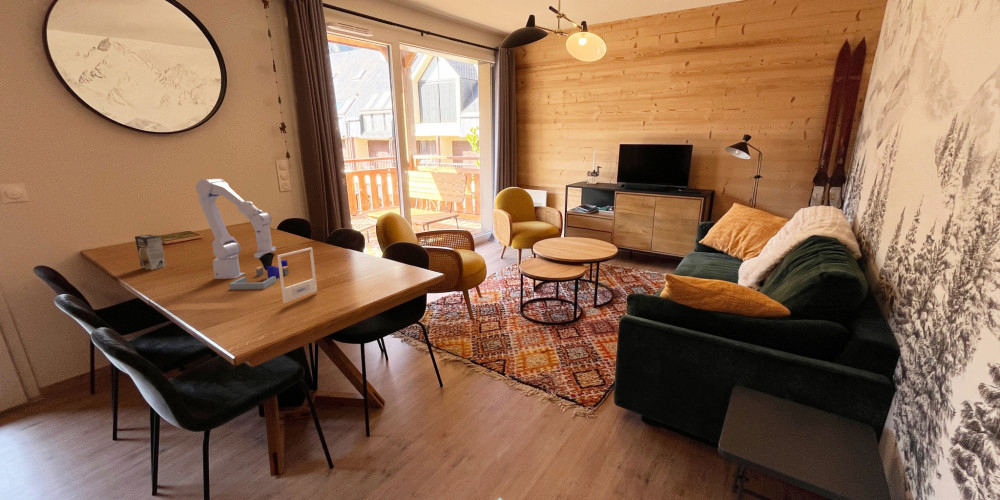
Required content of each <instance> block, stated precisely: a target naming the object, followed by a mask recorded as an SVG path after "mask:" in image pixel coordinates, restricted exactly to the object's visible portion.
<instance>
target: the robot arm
mask: <svg viewBox="0 0 1000 500" xmlns="http://www.w3.org/2000/svg"><path fill="white" fill-rule="evenodd" d="M194 187H195V189H196V192H197V195H198V201H199V204H200V206H201V209H202V211H203V214H204V216H205V218H206V221H207V223H208V226H209V227H210V230H211V232H212V235H213V237H214V240H213V241H212V243H211V247H212V252H213V255H214V256H215V257H216V258H214V260H213V262H212V268H213V269H212V270H213V274H214V277H213V279H215V280H218V279H219V280H222V279H225V280H226V279H237V278H239V277H241V276H244V275H245V274H246V272H241V268H240V263H239V256H240V254H239V253H240V252H241V250H242V248H241V245H240V243H238V241H237V239H236V238H235V237H234V236H232V235H230V234H229V231H228V229H227V227H226V223H225V222H224V219H223V217H222V214H221V212H220V210H219V207H218V205H217V203H216V200H217V199H218V198H219V197H220V196H223V197H224V198H225V199H227V200H229V201H230V202H231V203H233V204H234V205H235V206H237V209H238V211H239V212H240V213H241V214H242V215H243V216H245V217H246V218H247V219H249V220H250V221H249V222H250V224H251V225H252V226H253V230H254V232H255V241H256V246H257V251H255V253H254V254H253V255H254V258H255V259H258V260H259V261H260V263H261V264H262V267H263V270H264V271H267V266H273V260H274V257H275V252H276V251H277V248H276V247H277V246H274V245H273V243H272V241H273V240H272V233H271V226H270V224H271V223H272V216H271V214H270V213H269V212H267V211H263V210H262V209H259V208H258V207H257V206H255V205H254V203H253V202H252V201H249V200H244V199H243V198H242V197H241V196H240V195H239V194H238V193H236V192H235V191H234V190H233V189H232V188H231V187H230V186H229V183H228V182H226V181H225V180H224V179H222V178H220V177H218V178H208V179H206V178H202V179H200V180H198V181H197V183H196V185H195V186H194Z"/></svg>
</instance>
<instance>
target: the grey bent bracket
mask: <svg viewBox="0 0 1000 500" xmlns="http://www.w3.org/2000/svg"><path fill="white" fill-rule="evenodd" d="M275 283H277V279H276V276H272V277H271V278H269V279H268V278H267V279H265V280H264V281H262V282H259V281H258V282H257V281H255V282H248V279H247V276H242V277H240V278H238V279H235V280H234V281H232V282H230V283H229V284H228V285H229V290H233V291H234V290H265V289H267V288H268V287H270V286H272V285H273V284H275Z"/></svg>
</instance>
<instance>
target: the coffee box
mask: <svg viewBox="0 0 1000 500" xmlns="http://www.w3.org/2000/svg"><path fill="white" fill-rule="evenodd" d="M134 239H135V244H136V245H135V246H136V248H137V253H138V258H139V263H140V269H142V268H146V269H145V270H148V269H151V270H150V271H154V270H153V269H156V270H158V269H157V268H160V269H162V268H161V267H164V268H166V267H167V264H166V260H165V259H166V258H165V254H164V247H163V242H162V237H161V235H156V234H145V235H144V234H143V235H135V236H134ZM165 266H166V267H165Z"/></svg>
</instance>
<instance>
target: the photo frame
mask: <svg viewBox="0 0 1000 500" xmlns="http://www.w3.org/2000/svg"><path fill="white" fill-rule="evenodd" d="M307 251H309V255H310V256H309V257H310V264H311V275H312V278H310V279H307V280H304V281H301V282H297V283H295V284H291V285H289V286H285V282H284V281H285V279H284V275H283V271H282V264H281V260H282V258H283V257H287V256H290V255H291V256H292V255H295V254H299V253H303V252H307ZM276 257H277V267H278V266H279V274H280V277H279V280H280V288H281V295H282V302H283V303H284V304H285V303H288V302H291V301H293V300H294V301H295V300H298V299H300V298H302V297H304V296H308V295H311V294H313V293H316V292H318V286H317V278H316V269H315V259H314V250H313V247H307V248H302V249H299V250H294V251H291V252H285V253H282V254H277V255H276Z"/></svg>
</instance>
